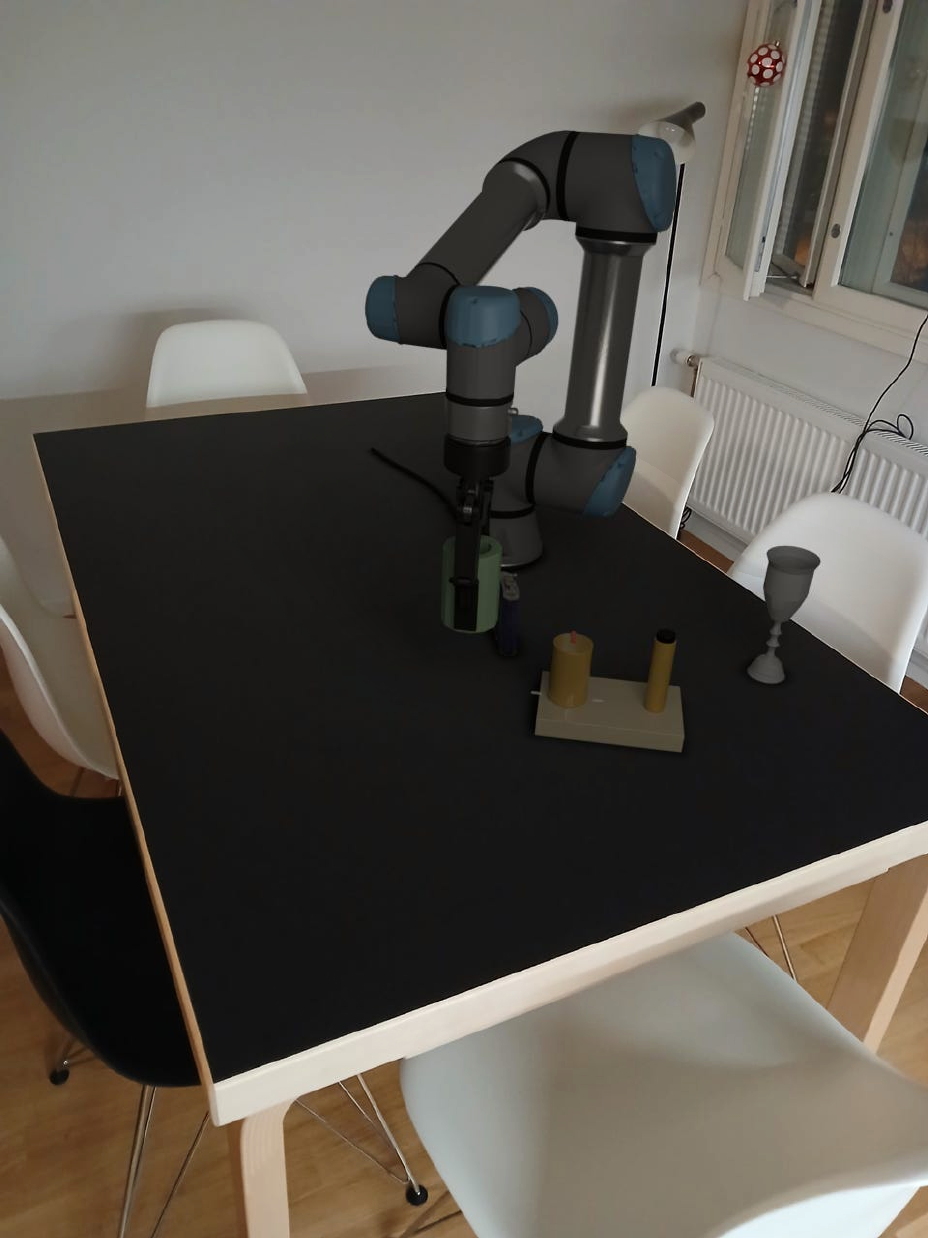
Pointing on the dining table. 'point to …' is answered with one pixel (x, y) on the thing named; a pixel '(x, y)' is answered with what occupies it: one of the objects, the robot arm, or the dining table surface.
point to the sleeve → (487, 584)
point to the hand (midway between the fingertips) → (469, 612)
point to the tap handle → (570, 669)
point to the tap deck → (613, 716)
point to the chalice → (783, 601)
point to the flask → (507, 614)
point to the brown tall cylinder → (660, 670)
